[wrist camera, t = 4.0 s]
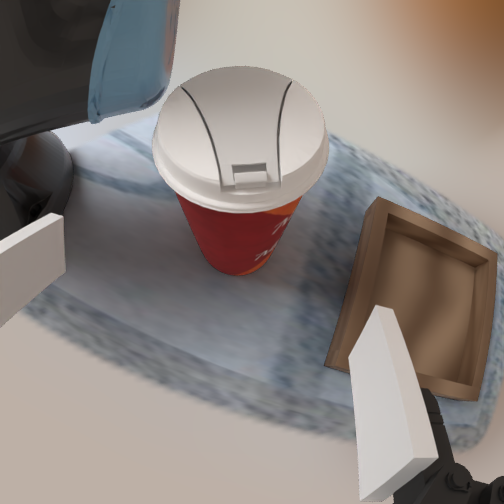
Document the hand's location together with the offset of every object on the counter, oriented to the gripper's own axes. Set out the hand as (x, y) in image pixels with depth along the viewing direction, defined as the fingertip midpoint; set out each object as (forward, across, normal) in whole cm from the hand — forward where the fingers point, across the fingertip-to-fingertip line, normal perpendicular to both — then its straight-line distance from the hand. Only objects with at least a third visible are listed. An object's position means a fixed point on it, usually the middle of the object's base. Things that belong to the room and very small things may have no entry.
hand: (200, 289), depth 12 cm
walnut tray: (+13, +17, -5) cm, 22 cm away
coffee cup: (+15, 0, -4) cm, 15 cm away
